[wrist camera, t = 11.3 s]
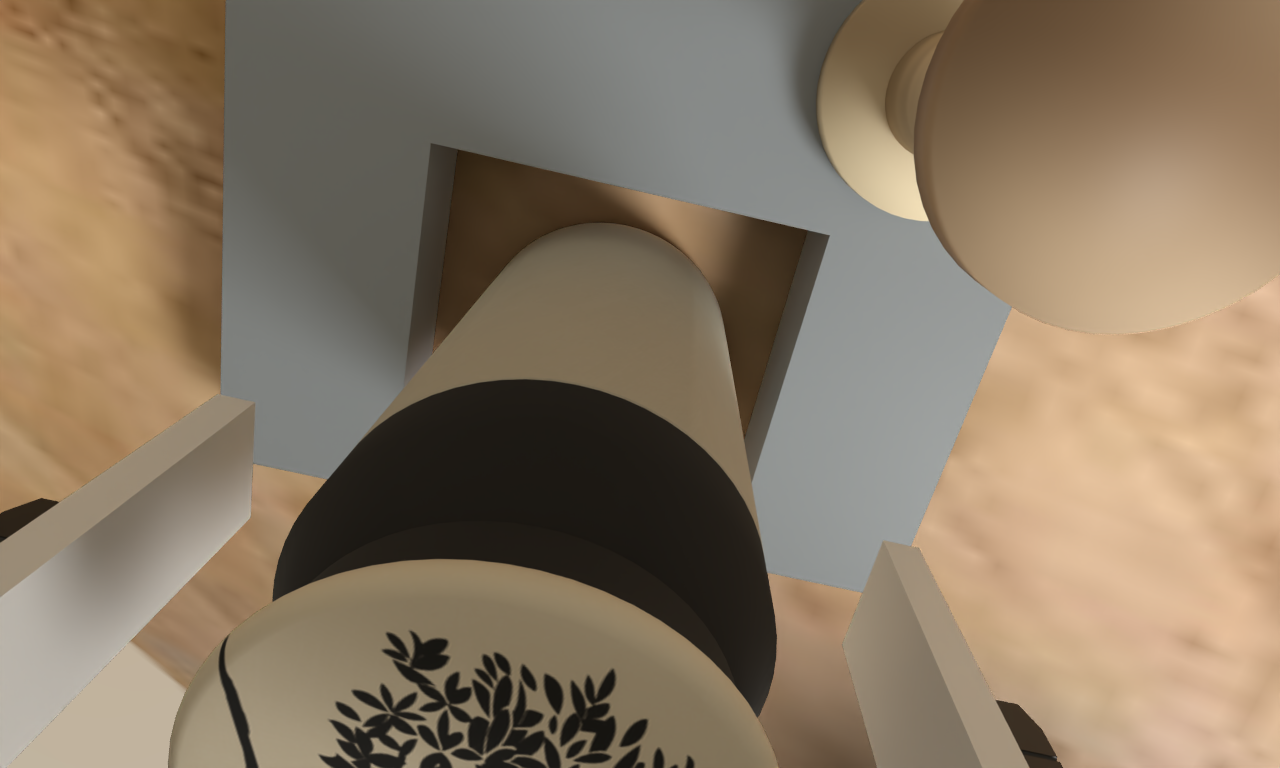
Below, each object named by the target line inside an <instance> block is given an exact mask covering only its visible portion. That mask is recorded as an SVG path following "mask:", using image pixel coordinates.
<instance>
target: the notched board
mask: <svg viewBox="0 0 1280 768" xmlns="http://www.w3.org/2000/svg"><path fill="white" fill-rule="evenodd" d="M861 1H862V0H226V15H225V93H224V171H223V249H222V327H221V395H224V396H229V397H233V398H238V399H242V400H247V401H252V402H255V424H254V449H253V464H257V465H262V466H267V467H272V468H276V469H281V470H286V471H290V472H295V473H300V474H305V475H309V476H314V477H319V478H323V479H328V478H329V477H330V476H331V475H332V474H333V472H334V471H335V470H336V469H337V468H338V466H339V465H340V464H341V463H342V462H343V460H344V459H345V458H346V457H347V456H348V454H349V453H350V452H351V451H352V450H353V448H354V447H355V446H356V445H357V444H358V442H359V441H360V440H361V439H362V438H363V437H364V435H365V434H366V433H367V432H368V431H369V429H370V428H371V427H372V426H373V425H374V423H375V422H376V421H377V420H378V419H379V417H380V416H381V415H382V414H383V413H384V411H385V410H386V409H387V408H388V407H389V405H390V404H391V403H392V402H393V401H394V399H395V398H396V397H397V396H398V395H399V393H400V392H401V391H402V390H403V389H404V387H405V386H406V385H407V384H408V383H409V381H410V380H411V379H412V378H413V377H414V375H415V374H416V373H417V372H418V371H419V369H420V368H421V367H422V366H423V365H424V363H425V362H426V361H427V360H428V359H429V357H430V356H431V355H432V351H433V343H434V335H435V327H436V319H437V311H438V303H439V295H440V287H441V279H442V271H443V263H444V255H445V247H446V239H447V231H448V223H449V215H450V207H451V199H452V191H453V183H454V175H455V167H456V159H457V151H458V149H459V150H463V151H468V152H472V153H476V154H481V155H485V156H489V157H494V158H498V159H502V160H507V161H511V162H515V163H520V164H524V165H528V166H532V167H537V168H541V169H545V170H550V171H554V172H558V173H563V174H567V175H571V176H576V177H580V178H584V179H589V180H593V181H597V182H602V183H606V184H610V185H615V186H619V187H623V188H628V189H632V190H636V191H641V192H645V193H649V194H653V195H658V196H662V197H666V198H671V199H675V200H679V201H684V202H688V203H692V204H697V205H701V206H705V207H710V208H714V209H718V210H723V211H727V212H731V213H736V214H740V215H744V216H749V217H753V218H757V219H761V220H766V221H770V222H774V223H779V224H783V225H787V226H792V227H796V228H800V229H805V230H808V232H807V235H806V238H805V242H804V245H803V248H802V251H801V255H800V258H799V261H798V265H797V268H796V271H795V274H794V278H793V281H792V284H791V288H790V291H789V294H788V297H787V301H786V304H785V307H784V311H783V314H782V317H781V320H780V324H779V327H778V330H777V334H776V337H775V340H774V343H773V347H772V350H771V353H770V356H769V360H768V363H767V366H766V370H765V373H764V376H763V379H762V383H761V386H760V389H759V393H758V396H757V399H756V402H755V406H754V409H753V412H752V416H751V419H750V422H749V425H748V429H747V432H746V435H745V439H744V443H745V449H746V455H747V460H748V466H749V472H750V477H751V483H752V489H753V495H754V500H755V506H756V512H757V517H758V523H759V529H760V535H761V540H762V546H763V552H764V558H765V563H766V569H767V573H772V574H776V575H781V576H786V577H790V578H795V579H800V580H805V581H809V582H814V583H819V584H824V585H828V586H833V587H838V588H842V589H847V590H852V591H857V592H861V593H863V590H864V588H865V585H866V583H867V580H868V578H869V575H870V573H871V570H872V568H873V565H874V562H875V560H876V557H877V555H878V552H879V550H880V547H881V545H882V542H883V540H884V541H889V542H894V543H898V544H903V545H907V546H911V545H912V542H913V540H914V538H915V535H916V533H917V530H918V528H919V526H920V523H921V521H922V519H923V516H924V514H925V511H926V509H927V507H928V504H929V502H930V500H931V497H932V495H933V493H934V490H935V488H936V485H937V483H938V481H939V478H940V476H941V474H942V471H943V469H944V466H945V464H946V462H947V459H948V457H949V455H950V452H951V450H952V448H953V445H954V443H955V440H956V438H957V436H958V433H959V431H960V429H961V426H962V424H963V421H964V419H965V417H966V414H967V412H968V410H969V407H970V405H971V403H972V400H973V398H974V395H975V393H976V391H977V388H978V386H979V384H980V381H981V379H982V376H983V374H984V372H985V369H986V367H987V365H988V362H989V360H990V358H991V355H992V353H993V350H994V348H995V346H996V343H997V341H998V339H999V336H1000V334H1001V332H1002V329H1003V327H1004V324H1005V322H1006V320H1007V317H1008V315H1009V313H1010V310H1011V308H1012V307H1011V306H1010V305H1008V304H1007V303H1005V302H1004V301H1002V300H1000V299H999V298H998V297H996V296H995V295H994V294H992V293H991V292H990V291H988V290H987V289H985V288H984V287H983V286H981V285H980V284H979V283H977V282H976V281H975V280H974V279H973V278H971V277H970V276H969V275H968V274H967V273H966V272H965V271H964V270H963V269H961V268H960V267H959V266H958V265H957V263H956V262H955V261H954V260H953V259H952V257H951V256H950V255H949V254H948V253H947V251H946V250H945V249H944V247H943V246H942V244H941V242H940V241H939V239H938V237H937V236H936V234H935V232H934V231H933V229H932V227H931V225H930V222H929V221H918V220H911V219H905V218H902V217H899V216H896V215H892V214H890V213H888V212H886V211H883V210H881V209H879V208H877V207H876V206H874V205H873V204H871V203H870V202H868V201H867V200H865V199H864V198H862V197H861V196H860V195H858V194H857V193H856V192H855V191H854V190H852V189H851V188H850V187H849V186H848V185H847V184H846V183H845V182H844V181H843V180H842V178H841V177H840V176H839V175H838V174H837V172H836V171H835V169H834V167H833V166H832V164H831V163H830V161H829V159H828V157H827V155H826V152H825V150H824V148H823V145H822V142H821V138H820V135H819V130H818V124H817V117H816V95H817V85H818V80H819V76H820V71H821V67H822V64H823V62H824V59H825V56H826V53H827V51H828V48H829V46H830V44H831V42H832V40H833V38H834V36H835V35H836V33H837V31H838V30H839V28H840V27H841V25H842V24H843V22H844V21H845V19H846V18H847V17H848V16H849V15H850V13H851V12H852V11H853V10H854V8H855V7H856V6H857V5H858V4H859V3H860V2H861Z"/></svg>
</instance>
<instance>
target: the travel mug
mask: <svg viewBox="0 0 1280 768" xmlns="http://www.w3.org/2000/svg"><path fill="white" fill-rule="evenodd" d="M776 644H777V634H776V624H775V615H774V609H773V603H772V598H771V592H770V586H769V580H768V575H767V569H766V563H765V558H764V552H763V546H762V540H761V535H760V529H759V523H758V517H757V512H756V506H755V500H754V495H753V489H752V483H751V477H750V472H749V466H748V460H747V455H746V449H745V443H744V437H743V432H742V426H741V420H740V414H739V409H738V403H737V397H736V392H735V386H734V380H733V374H732V369H731V363H730V357H729V352H728V346H727V340H726V334H725V329H724V323H723V319H722V314H721V310H720V307H719V304H718V301H717V299H716V297H715V295H714V292H713V290H712V289H711V287H710V285H709V283H708V282H707V280H706V279H705V277H704V276H703V274H702V273H701V272H700V270H699V269H698V268H697V267H696V266H695V265H694V263H693V262H692V261H691V260H690V259H689V258H688V257H686V256H685V255H684V254H683V253H682V252H681V251H679V250H678V249H677V248H676V247H674V246H673V245H671V244H670V243H668V242H666V241H665V240H663V239H662V238H659V237H657V236H655V235H653V234H651V233H649V232H646V231H643V230H641V229H638V228H634V227H630V226H627V225H621V224H614V223H585V224H578V225H573V226H569V227H565V228H561V229H559V230H556V231H553V232H551V233H548V234H546V235H544V236H542V237H540V238H538V239H537V240H535V241H534V242H532V243H530V244H529V245H528V246H526V247H525V248H524V249H522V250H521V251H520V252H519V253H518V254H517V255H516V256H515V257H514V258H512V260H511V261H510V262H509V263H508V264H507V265H506V266H505V268H504V269H503V270H502V271H501V272H500V274H499V275H498V276H497V277H496V278H495V280H494V281H493V282H492V283H491V284H490V286H489V287H488V288H487V289H486V290H485V292H484V293H483V294H482V295H481V296H480V298H479V299H478V300H477V301H476V302H475V304H474V305H473V306H472V307H471V308H470V310H469V311H468V312H467V313H466V314H465V316H464V317H463V318H462V319H461V320H460V322H459V323H458V324H457V325H456V326H455V328H454V329H453V330H452V331H451V332H450V334H449V335H448V336H447V337H446V338H445V340H444V341H443V342H442V343H441V344H440V345H439V347H438V348H437V349H436V350H435V351H434V353H433V354H432V355H431V356H430V357H429V359H428V360H427V361H426V362H425V363H424V365H423V366H422V367H421V368H420V369H419V371H418V372H417V373H416V374H415V375H414V377H413V378H412V379H411V380H410V381H409V383H408V384H407V385H406V386H405V387H404V389H403V390H402V391H401V392H400V393H399V395H398V396H397V397H396V398H395V399H394V401H393V402H392V403H391V404H390V405H389V407H388V408H387V409H386V410H385V411H384V413H383V414H382V415H381V416H380V417H379V419H378V420H377V421H376V422H375V423H374V425H373V426H372V427H371V428H370V429H369V431H368V432H367V433H366V434H365V435H364V437H363V438H362V439H361V440H360V441H359V442H358V444H357V445H356V446H355V447H354V448H353V450H352V451H351V452H350V453H349V454H348V456H347V457H346V458H345V459H344V460H343V462H342V463H341V464H340V465H339V466H338V468H337V469H336V470H335V471H334V472H333V474H332V475H331V476H330V477H329V478H328V480H327V481H326V482H325V483H324V484H323V486H322V487H321V488H320V489H319V490H318V492H317V493H316V494H315V495H314V496H313V498H312V499H311V500H310V501H309V502H308V504H307V505H306V506H305V508H304V509H303V511H302V512H301V514H300V515H299V517H298V518H297V520H296V521H295V523H294V525H293V527H292V529H291V531H290V533H289V535H288V537H287V539H286V541H285V543H284V546H283V549H282V552H281V555H280V557H279V560H278V565H277V569H276V574H275V579H274V588H273V602H272V603H270V604H269V605H267V606H265V607H264V608H262V609H260V610H259V611H257V612H256V613H254V614H253V615H252V616H251V617H249V618H248V619H247V620H245V621H244V622H243V623H242V624H240V625H239V626H238V627H236V628H235V629H234V630H233V631H232V632H231V633H230V634H229V635H228V636H227V637H226V638H225V639H224V640H223V641H222V642H221V643H220V644H219V645H218V646H217V647H216V648H215V649H214V650H213V651H212V653H211V654H210V655H209V657H208V658H207V659H206V660H205V662H204V663H203V664H202V666H201V667H200V668H199V670H198V671H197V673H196V675H195V676H194V678H193V680H192V682H191V683H190V685H189V687H188V689H187V690H186V692H185V694H184V697H183V700H182V702H181V705H180V707H179V710H178V712H177V715H176V718H175V722H174V726H173V730H172V735H171V739H170V748H169V759H168V768H779V766H778V763H777V760H776V757H775V754H774V751H773V748H772V746H771V744H770V742H769V740H768V737H767V735H766V733H765V731H764V729H763V727H762V725H761V723H760V721H759V720H758V716H759V714H760V713H761V710H762V708H763V705H764V703H765V701H766V698H767V696H768V693H769V689H770V686H771V682H772V678H773V674H774V667H775V661H776Z"/></svg>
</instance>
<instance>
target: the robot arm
mask: <svg viewBox="0 0 1280 768" xmlns="http://www.w3.org/2000/svg"><path fill="white" fill-rule="evenodd" d="M254 424H255V402H252V401H247V400H242V399H238V398H233V397H229V396H224V395H220V394H217V395H216V396H214V397H213V398H211V399H210V400H208V401H207V402H205V403H204V404H202V405H201V406H199V407H198V408H197V409H195V410H194V411H192V412H191V413H189V414H188V415H186V416H185V417H183V418H182V419H180V420H179V421H178V422H176V423H175V424H173V425H172V426H170V427H169V428H167V429H166V430H164V431H163V432H161V433H160V434H159V435H157V436H156V437H154V438H153V439H151V440H150V441H148V442H147V443H145V444H144V445H143V446H141V447H140V448H138V449H137V450H135V451H134V452H132V453H131V454H129V455H128V456H126V457H125V458H124V459H122V460H121V461H119V462H118V463H116V464H115V465H113V466H112V467H110V468H109V469H107V470H106V471H105V472H103V473H102V474H100V475H99V476H97V477H96V478H94V479H93V480H91V481H90V482H88V483H87V484H86V485H84V486H83V487H81V488H80V489H78V490H77V491H75V492H74V493H72V494H71V495H70V496H68V497H67V498H65V499H64V500H62V501H61V502H57V501H52V500H47V499H43V498H41V499H38V500H35V501H32V502H29V503H27V504H24V505H21V506H18V507H15V508H13V509H10V510H7V511H4V512H2V513H1V514H0V768H7V767H8V766H9V765H10V764H11V763H12V761H13V760H14V759H16V758H17V756H18V755H19V754H20V753H21V752H22V751H23V750H24V749H25V748H26V747H27V746H28V745H29V744H30V743H31V742H32V741H33V740H34V739H35V738H36V737H37V736H38V735H39V734H40V733H41V732H42V731H43V730H44V729H45V728H46V727H47V726H48V724H50V723H51V722H52V720H54V719H55V718H56V717H57V716H58V714H59V713H60V712H61V711H62V710H63V709H64V708H65V707H66V706H67V705H68V704H69V703H70V702H71V701H72V700H73V699H74V698H75V697H76V696H77V695H78V694H79V693H80V692H81V691H82V690H83V689H84V688H85V687H86V686H87V685H88V684H89V683H90V682H91V681H92V680H93V678H95V676H96V675H98V674H99V672H100V671H101V670H102V669H103V668H104V667H105V666H106V665H107V664H108V663H109V662H110V661H111V660H112V659H113V658H114V657H115V656H116V655H117V654H118V653H119V652H120V651H121V650H122V649H123V648H124V647H125V646H126V645H127V644H128V643H129V642H130V641H131V640H132V639H133V638H134V637H135V636H136V635H137V634H138V633H139V632H140V630H141V629H142V628H143V627H144V626H145V625H146V624H147V623H148V622H149V621H150V620H151V619H152V618H153V617H154V616H155V615H156V614H157V613H158V612H159V611H160V610H161V609H162V608H163V607H164V606H165V605H166V604H167V603H168V602H169V601H170V600H171V599H172V598H173V597H174V596H175V595H176V594H177V593H178V592H179V591H180V590H181V588H182V587H183V586H184V585H185V584H186V583H187V582H188V581H189V580H190V579H191V578H192V577H193V576H194V575H195V574H196V573H197V572H198V571H199V570H200V569H201V568H202V567H203V566H204V565H205V564H206V563H207V562H208V561H209V560H210V559H211V558H212V557H213V556H214V555H215V554H216V553H217V552H218V551H219V550H220V549H221V548H222V546H223V545H224V544H225V543H226V542H227V541H228V540H229V539H230V538H231V537H232V536H233V535H234V534H235V533H236V532H237V531H238V530H239V529H240V528H241V527H242V526H243V525H244V524H245V523H246V522H247V521H248V520H249V519H250V518H251V498H252V474H253V449H254ZM842 646H843V650H844V653H845V657H846V660H847V664H848V667H849V671H850V674H851V678H852V681H853V685H854V688H855V692H856V696H857V699H858V703H859V706H860V710H861V713H862V717H863V720H864V724H865V727H866V731H867V734H868V738H869V741H870V745H871V749H872V752H873V756H874V759H875V763H876V766H877V768H1063V767H1062V765H1061V763H1060V762H1057V756H1056V754H1055V752H1054V751H1053V749H1052V747H1051V745H1050V743H1049V741H1048V740H1047V738H1046V736H1045V734H1044V732H1043V731H1042V729H1041V728H1040V727H1039V726H1038V725H1037V724H1036V723H1035V722H1034V721H1033V720H1032V719H1031V718H1030V717H1029V716H1028V715H1027V714H1026V713H1025V711H1024V710H1023V709H1022V708H1021V707H1020V706H1019V705H1017V704H1013V703H1008V702H1003V701H999V700H995V698H994V696H993V694H992V692H991V690H990V688H989V686H988V684H987V682H986V680H985V678H984V676H983V674H982V672H981V670H980V668H979V667H978V665H977V663H976V661H975V659H974V657H973V655H972V653H971V651H970V649H969V647H968V645H967V643H966V641H965V639H964V637H963V635H962V633H961V631H960V629H959V627H958V625H957V623H956V621H955V619H954V617H953V615H952V613H951V611H950V609H949V607H948V605H947V603H946V601H945V599H944V597H943V595H942V593H941V591H940V589H939V587H938V585H937V583H936V581H935V579H934V577H933V575H932V573H931V571H930V569H929V567H928V565H927V563H926V561H925V559H924V557H923V555H922V553H921V551H920V549H919V548H916V547H912V546H907V545H903V544H898V543H894V542H889V541H884V540H883V542H882V545H881V547H880V550H879V552H878V555H877V557H876V560H875V562H874V565H873V568H872V570H871V573H870V575H869V578H868V580H867V583H866V585H865V588H864V590H863V593H862V595H861V598H860V600H859V603H858V605H857V608H856V610H855V613H854V616H853V618H852V621H851V623H850V626H849V628H848V631H847V633H846V636H845V638H844V641H843V643H842Z"/></svg>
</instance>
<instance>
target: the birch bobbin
mask: <svg viewBox="0 0 1280 768" xmlns="http://www.w3.org/2000/svg"><path fill="white" fill-rule="evenodd" d="M816 117H817V124H818V130H819V135H820V138H821V142H822V145H823V148H824V150H825V152H826V155H827V157H828V159H829V161H830V163H831V164H832V166H833V167H834V169H835V171H836V172H837V174H838V175H839V176H840V177H841V178H842V180H843V181H844V182H845V183H846V184H847V185H848V186H849V187H850V188H851V189H852V190H854V191H855V192H856V193H857V194H858V195H860V196H861V197H862V198H864V199H865V200H867V201H868V202H870V203H871V204H873V205H874V206H876V207H877V208H879V209H881V210H883V211H886V212H888V213H890V214H892V215H896V216H899V217H902V218H905V219H911V220H918V221H929V222H930V225H931V227H932V229H933V231H934V232H935V234H936V236H937V237H938V239H939V241H940V242H941V244H942V246H943V247H944V249H945V250H946V251H947V253H948V254H949V255H950V256H951V257H952V259H953V260H954V261H955V262H956V263H957V265H958V266H959V267H960V268H961V269H963V270H964V271H965V272H966V273H967V274H968V275H969V276H970V277H971V278H973V279H974V280H975V281H976V282H977V283H979V284H980V285H981V286H983V287H984V288H985V289H987V290H988V291H990V292H991V293H992V294H994V295H995V296H996V297H998V298H999V299H1000V300H1002V301H1004V302H1005V303H1007V304H1008V305H1010V306H1011V307H1013V308H1014V309H1016V310H1017V311H1019V312H1020V313H1023V314H1025V315H1027V316H1029V317H1031V318H1033V319H1036V320H1038V321H1040V322H1042V323H1045V324H1049V325H1052V326H1055V327H1059V328H1062V329H1065V330H1070V331H1076V332H1083V333H1089V334H1106V335H1124V334H1135V333H1147V332H1151V331H1156V330H1161V329H1166V328H1171V327H1175V326H1179V325H1182V324H1185V323H1188V322H1191V321H1194V320H1197V319H1201V318H1203V317H1206V316H1208V315H1210V314H1212V313H1215V312H1217V311H1219V310H1222V309H1224V308H1226V307H1229V306H1230V305H1232V304H1234V303H1236V302H1238V301H1239V300H1241V299H1243V298H1245V297H1247V296H1248V295H1250V294H1252V293H1254V292H1255V291H1257V290H1259V289H1260V288H1261V287H1263V286H1264V285H1266V284H1267V283H1269V282H1270V281H1271V280H1273V279H1274V278H1276V277H1277V276H1279V275H1280V0H862V1H861V2H860V3H859V4H858V5H857V6H856V7H855V8H854V10H853V11H852V12H851V13H850V15H849V16H848V17H847V18H846V19H845V21H844V22H843V24H842V25H841V27H840V28H839V30H838V31H837V33H836V35H835V36H834V38H833V40H832V42H831V44H830V46H829V48H828V51H827V53H826V56H825V59H824V62H823V64H822V67H821V71H820V76H819V80H818V85H817V95H816Z"/></svg>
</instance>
